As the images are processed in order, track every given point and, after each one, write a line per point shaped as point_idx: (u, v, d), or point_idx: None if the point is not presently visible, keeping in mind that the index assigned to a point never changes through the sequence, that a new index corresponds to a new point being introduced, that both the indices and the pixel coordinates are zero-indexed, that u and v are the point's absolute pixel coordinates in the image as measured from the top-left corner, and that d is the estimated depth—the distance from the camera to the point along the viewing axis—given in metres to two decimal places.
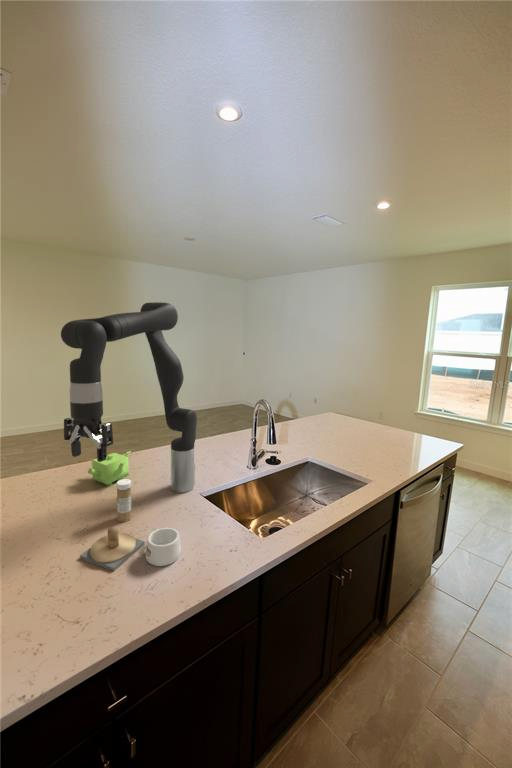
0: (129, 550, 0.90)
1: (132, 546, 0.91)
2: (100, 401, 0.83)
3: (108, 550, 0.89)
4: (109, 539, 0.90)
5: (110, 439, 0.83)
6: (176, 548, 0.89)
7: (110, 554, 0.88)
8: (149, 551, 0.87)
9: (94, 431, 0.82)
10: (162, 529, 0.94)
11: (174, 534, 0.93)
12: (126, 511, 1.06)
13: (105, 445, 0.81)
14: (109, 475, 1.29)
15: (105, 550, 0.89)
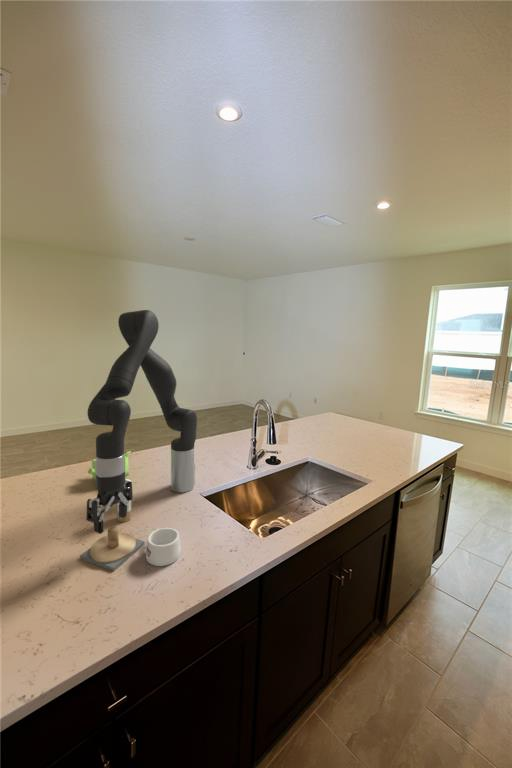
0: (129, 550, 0.90)
1: (132, 546, 0.91)
2: None
3: (108, 550, 0.89)
4: (109, 539, 0.90)
5: (126, 493, 0.96)
6: (176, 548, 0.89)
7: (110, 554, 0.88)
8: (149, 551, 0.87)
9: (121, 493, 0.92)
10: (162, 529, 0.94)
11: (174, 534, 0.93)
12: None
13: (132, 497, 0.95)
14: None
15: (105, 550, 0.89)
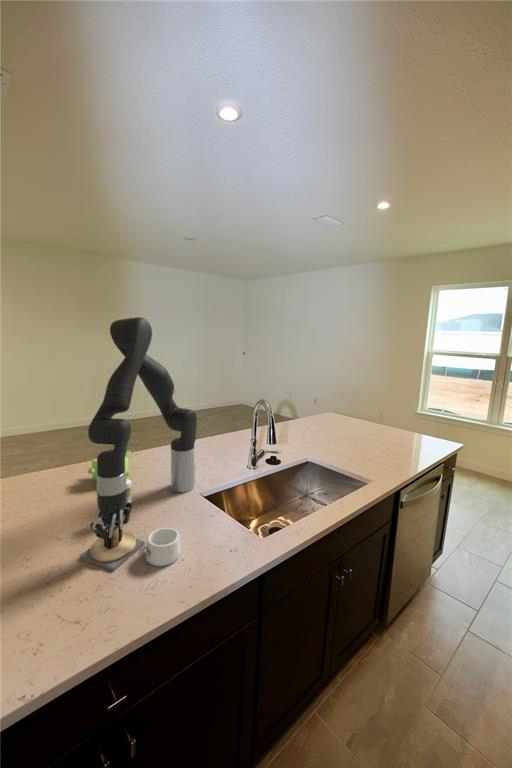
0: (129, 549, 0.90)
1: (132, 545, 0.91)
2: None
3: (108, 549, 0.89)
4: None
5: (122, 517, 0.95)
6: (176, 548, 0.89)
7: (111, 553, 0.88)
8: (149, 551, 0.87)
9: (123, 509, 0.93)
10: (162, 529, 0.94)
11: (174, 534, 0.93)
12: None
13: (127, 521, 0.94)
14: None
15: (106, 549, 0.89)
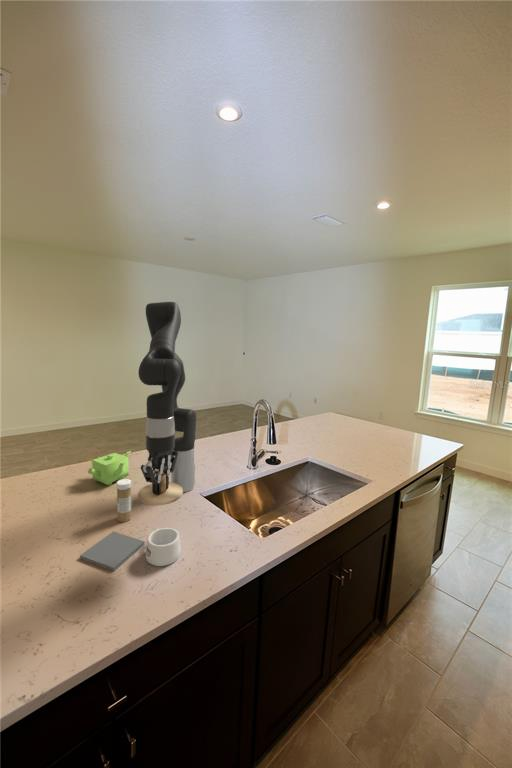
0: (178, 495, 0.87)
1: (180, 492, 0.89)
2: None
3: (156, 495, 0.87)
4: None
5: None
6: (176, 548, 0.89)
7: (160, 498, 0.85)
8: (149, 551, 0.87)
9: None
10: (162, 529, 0.94)
11: (174, 534, 0.93)
12: (126, 511, 1.06)
13: None
14: (109, 475, 1.29)
15: (154, 495, 0.87)
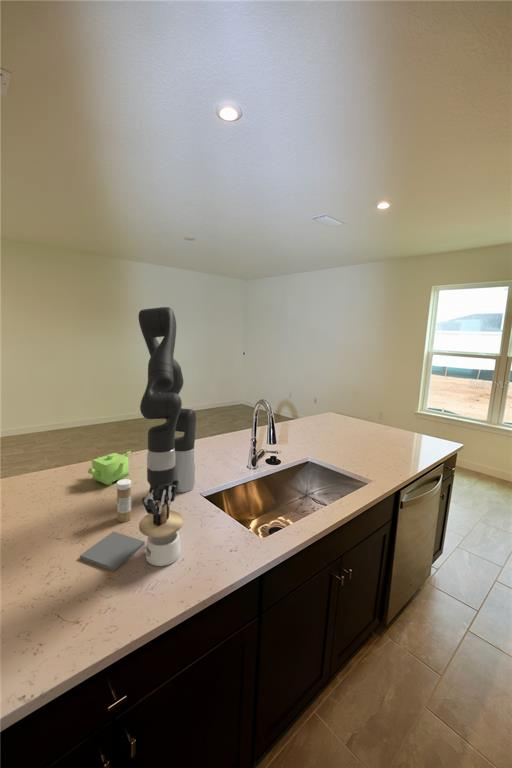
0: (178, 525, 0.89)
1: (180, 522, 0.90)
2: None
3: None
4: None
5: None
6: (176, 548, 0.89)
7: (161, 529, 0.87)
8: (149, 551, 0.87)
9: None
10: None
11: (174, 534, 0.93)
12: (126, 511, 1.06)
13: (173, 499, 0.93)
14: (109, 475, 1.29)
15: (155, 525, 0.88)
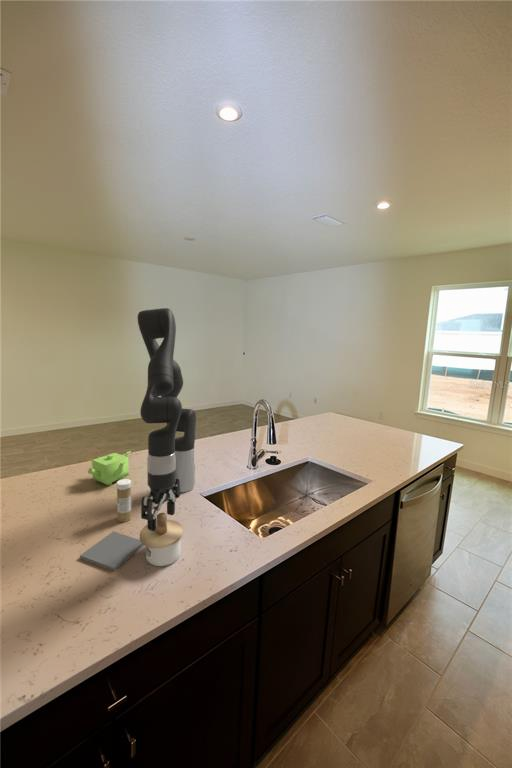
0: (179, 535, 0.89)
1: (181, 532, 0.91)
2: None
3: (158, 536, 0.89)
4: (158, 525, 0.89)
5: (173, 491, 0.96)
6: (176, 548, 0.89)
7: (161, 540, 0.87)
8: (149, 551, 0.87)
9: None
10: None
11: None
12: (126, 511, 1.06)
13: (179, 495, 0.96)
14: (109, 475, 1.29)
15: (155, 536, 0.89)
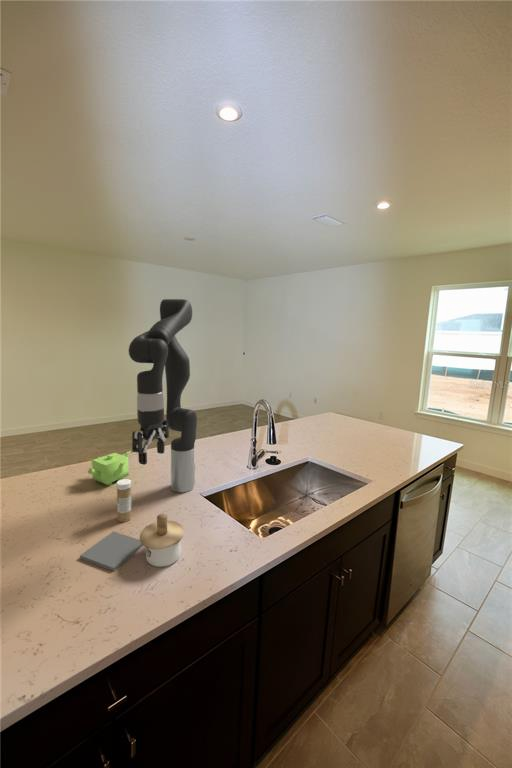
0: (179, 536, 0.89)
1: (181, 533, 0.91)
2: None
3: (158, 537, 0.88)
4: (159, 526, 0.89)
5: (163, 432, 1.02)
6: (176, 549, 0.88)
7: (162, 541, 0.87)
8: (149, 552, 0.87)
9: None
10: None
11: None
12: (126, 511, 1.06)
13: (168, 435, 1.02)
14: (109, 476, 1.29)
15: (155, 537, 0.88)
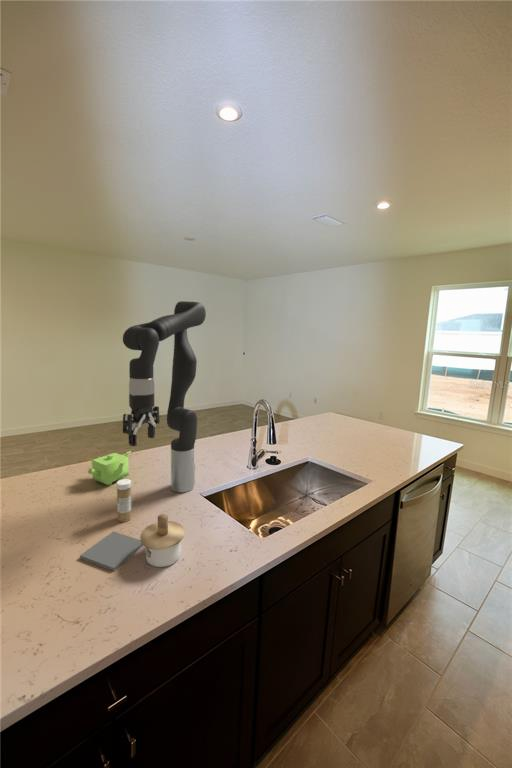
0: (180, 537, 0.89)
1: (182, 533, 0.90)
2: None
3: (159, 537, 0.88)
4: (159, 526, 0.89)
5: (154, 418, 1.08)
6: (176, 549, 0.88)
7: (162, 541, 0.87)
8: (149, 552, 0.87)
9: None
10: None
11: None
12: (126, 511, 1.06)
13: (159, 421, 1.07)
14: (109, 475, 1.29)
15: (156, 537, 0.88)
